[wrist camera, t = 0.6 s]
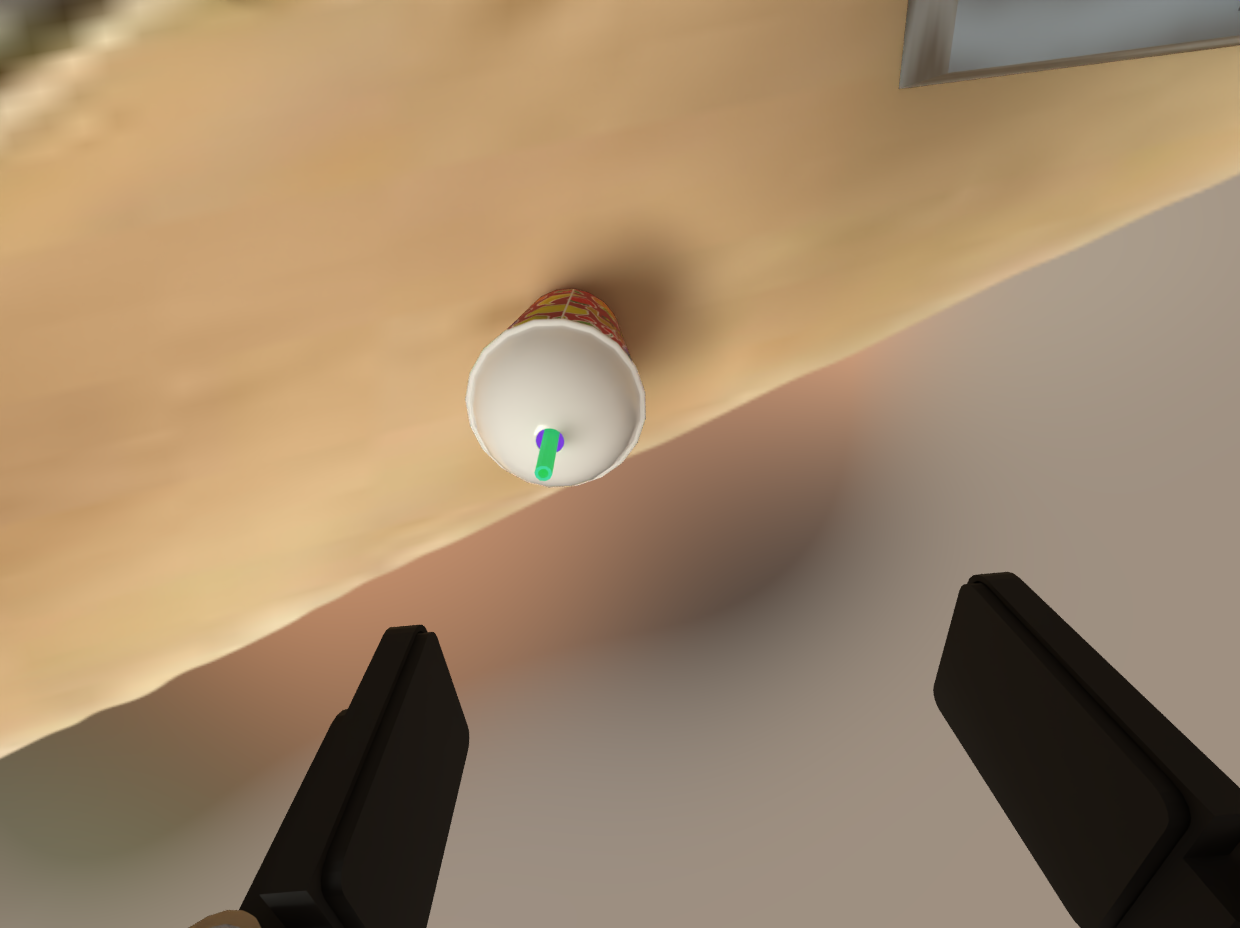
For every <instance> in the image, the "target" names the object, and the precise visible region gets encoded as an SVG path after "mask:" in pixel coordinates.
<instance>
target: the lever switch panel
mask: <svg viewBox="0 0 1240 928" xmlns="http://www.w3.org/2000/svg"><path fill="white" fill-rule="evenodd" d="M1237 45H1240V0H908V8H907V18H906V27H905V36H904V46H903V55H902V64H901V73H900V83H899V89H902V88H910V87H918V86H926V85H934V84H941V83H949V82H957V81H965V80H973V79H980V78H988V77H996V76H1004V75H1012V74H1019V73H1027V72H1035V71H1043V70H1050V69H1058V68H1066V67H1074V66H1082V65H1089V64H1097V63H1105V62H1113V61H1121V60H1128V59H1136V58H1144V57H1152V56H1160V55H1167V54H1175V53H1183V52H1191V51H1198V50H1206V49H1214V48H1222V47H1230V46H1237Z"/></svg>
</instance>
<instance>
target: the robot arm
mask: <svg viewBox="0 0 1240 928" xmlns="http://www.w3.org/2000/svg"><path fill="white" fill-rule="evenodd" d="M933 691H934V698H935V701H936V704H937V706H938V708H939V710H940V711H941V713H942V715H943V716H944V718H945V719H946V721H947V722H948V724H949V726H950V727H951V729H952V730H953V732H954V733H955V735H956V737H957V738H958V739H959V741H960V743H961V744H962V746H963V748H964V749H965V751H966V752H967V754H968V755H969V757H970V758H971V760H972V762H973V763H974V765H975V766H976V768H977V770H978V771H979V773H980V774H981V776H982V777H983V779H984V781H985V782H986V784H987V785H988V786H989V788H990V790H991V792H992V793H993V794H994V796H995V798H996V799H997V801H998V803H999V804H1000V806H1001V807H1002V809H1003V810H1004V812H1005V813H1006V815H1007V817H1008V818H1009V820H1010V821H1011V823H1012V825H1013V826H1014V827H1015V829H1016V831H1017V832H1018V834H1019V835H1020V837H1021V839H1022V840H1023V842H1024V843H1025V845H1026V846H1027V848H1028V850H1029V851H1030V853H1031V854H1032V856H1033V857H1034V859H1035V861H1036V862H1037V864H1038V865H1039V867H1040V868H1041V870H1042V871H1043V873H1044V875H1045V876H1046V878H1047V879H1048V881H1049V883H1050V884H1051V886H1052V887H1053V889H1054V890H1055V892H1056V894H1057V895H1058V896H1059V898H1060V900H1061V901H1062V903H1063V905H1064V906H1065V908H1066V909H1067V911H1068V912H1069V914H1070V915H1071V917H1072V918H1073V920H1074V921H1075V922H1076V923H1077V924H1078V925H1079V926H1080V927H1081V928H1240V788H1239V787H1238V786H1237V785H1236V784H1235V783H1234V782H1233V781H1232V780H1231V779H1230V778H1229V777H1228V776H1227V775H1226V774H1225V773H1224V772H1222V771H1221V770H1220V769H1219V768H1218V767H1217V766H1216V765H1215V764H1214V763H1213V762H1212V761H1211V760H1210V759H1209V758H1208V757H1207V756H1206V755H1205V754H1203V752H1201V751H1200V750H1199V749H1198V748H1197V747H1196V746H1195V745H1194V744H1193V743H1192V742H1191V741H1190V740H1189V739H1188V738H1187V737H1186V736H1185V735H1184V734H1183V733H1181V731H1179V730H1178V729H1177V728H1176V727H1175V726H1174V725H1173V724H1172V723H1171V722H1170V721H1169V720H1168V719H1167V718H1166V717H1165V716H1164V715H1163V714H1161V712H1160V711H1158V710H1157V709H1156V708H1155V707H1154V706H1153V705H1152V704H1151V703H1150V702H1149V701H1148V700H1147V699H1146V698H1145V697H1144V696H1143V695H1142V694H1141V693H1140V692H1138V690H1136V689H1135V688H1134V687H1133V686H1132V685H1131V684H1130V683H1129V682H1128V681H1127V680H1126V679H1125V678H1124V677H1123V676H1122V675H1121V674H1120V673H1119V672H1118V671H1117V670H1116V669H1114V668H1113V667H1112V666H1111V665H1110V664H1109V663H1108V662H1107V661H1106V660H1105V659H1104V658H1103V657H1102V656H1101V655H1100V654H1099V653H1098V652H1097V651H1096V650H1094V649H1093V648H1092V647H1091V646H1090V645H1089V644H1088V643H1087V642H1086V641H1085V640H1084V639H1083V638H1082V637H1081V636H1080V635H1079V634H1078V633H1077V632H1075V630H1073V628H1071V627H1070V626H1069V625H1068V624H1067V623H1066V622H1065V621H1064V620H1063V619H1062V618H1061V617H1060V616H1059V615H1058V614H1057V613H1056V612H1055V611H1054V610H1053V609H1052V608H1050V607H1049V606H1048V605H1047V604H1046V603H1045V602H1044V601H1043V600H1042V599H1041V598H1040V597H1039V596H1038V595H1037V594H1036V593H1035V592H1034V591H1033V590H1031V588H1029V587H1028V586H1027V585H1026V584H1025V583H1024V582H1023V581H1022V580H1021V579H1020V578H1019V577H1018V576H1016V575H1015V574H1013V573H1010V572H1002V573H990V574H980V575H973V576H972V577H971V578H970V579H969V581H968V583H967V584H964V585H963V586H961V589H960V591H959V594H958V598H957V602H956V606H955V609H954V613H953V617H952V620H951V624H950V628H949V632H948V635H947V639H946V643H945V646H944V650H943V654H942V657H941V661H940V665H939V669H938V672H937V676H936V680H935V683H934V689H933ZM468 747H469V729H468V726H467V723H466V720H465V717H464V714H463V711H462V708H461V705H460V702H459V699H458V696H457V694H456V691H455V688H454V685H453V682H452V679H451V676H450V673H449V670H448V667H447V664H446V662H445V659H444V656H443V653H442V650H441V647H440V644H439V641H438V638H437V636H436V634H435V633H434V632H427V630H426V628H425V627H424V626H423V625H412V626H400V627H390V628H389V629H387V630H386V632H385V633H384V635H383V637H382V639H381V641H380V643H379V645H378V647H377V649H376V651H375V654H374V656H373V658H372V660H371V662H370V664H369V666H368V668H367V670H366V672H365V674H364V676H363V679H362V681H361V683H360V685H359V687H358V689H357V691H356V693H355V695H354V697H353V699H352V702H351V704H350V706H349V708H348V709H345V710H343V711H341V712H340V713H339V714H338V715H337V716H336V718H335V719H334V721H333V722H332V724H331V726H330V728H329V730H328V732H327V734H326V736H325V738H324V740H323V742H322V744H321V746H320V748H319V750H318V752H317V754H316V756H315V758H314V760H313V762H312V764H311V766H310V768H309V770H308V772H307V774H306V776H305V778H304V780H303V782H302V784H301V786H300V788H299V790H298V792H297V794H296V796H295V798H294V800H293V802H292V804H291V806H290V808H289V810H288V812H287V814H286V816H285V818H284V820H283V822H282V824H281V826H280V828H279V830H278V833H277V834H276V837H275V838H274V841H273V842H272V844H271V847H270V849H269V851H268V853H267V855H266V856H265V858H264V861H263V863H262V865H261V867H260V869H259V871H258V873H257V875H256V877H255V879H254V881H253V883H252V885H251V887H250V889H249V891H248V893H247V895H246V897H245V899H244V901H243V903H242V905H241V907H240V909H239V910H226V911H223V912H219V913H216V914H213V915H210V916H207V917H206V918H204V919H202V920H201V921H199V922H197V923H195V924H194V925H192V926H190V927H189V928H426V927H427V923H428V918H429V914H430V910H431V905H432V901H433V897H434V893H435V889H436V884H437V880H438V876H439V871H440V867H441V863H442V859H443V855H444V850H445V846H446V842H447V837H448V833H449V829H450V824H451V820H452V816H453V812H454V807H455V803H456V799H457V795H458V790H459V786H460V782H461V777H462V773H463V769H464V765H465V761H466V756H467V752H468Z"/></svg>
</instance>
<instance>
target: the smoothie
mask: <svg viewBox="0 0 1240 928" xmlns="http://www.w3.org/2000/svg"><path fill="white" fill-rule="evenodd" d="M465 401H466V407H467V412H468V418H469V424H470V427H471V429H472V431H473V432H474V434H475V436H476V438H477V440H478V442H479V444H480V446H481V447H482V449H483V450H484V451H485V452H486V453H487V454H488V455H489V456H490V457H491V458H492V459H493V460H494V461H495V462H496V463H497V464H498V465H499V466H500V467H501V468H503V469H504V470H506V471H507V472H509V473H511V474H513V475H514V476H516V477H518V478H520V479H522V480H524V481H525V482H527V483H532V484H536V485H540V486H545V487H572V486H577V485H580V484H583V483H586V482H589V481H592V480H595V479H598V478H601V477H603V476H604V475H605V474H607V473H608V472H610V471H611V470H613V469H614V468H615V467H617V466H618V465H620V464H621V463H623V461H624V460H625V459H626V457H627V456H628V455H629V453H630V452H631V451H632V449H633V448H634V447H635V445H636V444H637V443H638V440H639V437H640V434H641V431H642V428H643V425H644V422H645V419H646V405H645V390H644V387H643V384H642V381H641V378H640V376H639V373H638V370H637V367H636V365H635V364H634V363H633V361H632V359H631V356H630V354H629V351H628V349H627V346H626V344H625V341H624V338H623V336H622V333H621V331H620V328H619V325H618V323H617V320H616V318H615V315H614V314H613V313H612V311H611V310H610V309H609V308H608V307H607V305H606V304H605V303H604V302H603V301H602V300H600V299H598V298H597V297H595V296H594V295H592V294H590V293H588V292H584V291H580V290H576V289H563V290H555V291H553V292H551V293H548V294H546V295H544V296H541V297H540V298H539V299H538V300H537V301H536V302H535V303H534V304H533V305H532V306H531V307H530V308H529V309H528V310H527V311H525V312H524V313H523V314H522V315H521V316H520V317H519V318H518V319H517V320H516V321H515V322H514V323H513V324H512V325H511V326H510V327H509V328H508V329H507V330H505V331H504V332H503V333H501V334H500V335H499V336H498V337H497V338H495V339H494V340H493V341H492V342H491V343H489V344H488V345H487V346H486V347H485V348H483V350H482V352H481V354H480V355H479V357H478V359H477V361H476V362H475V364H474V366H473V368H472V370H471V371H470V374H469V380H468V386H467V391H466V397H465Z"/></svg>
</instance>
